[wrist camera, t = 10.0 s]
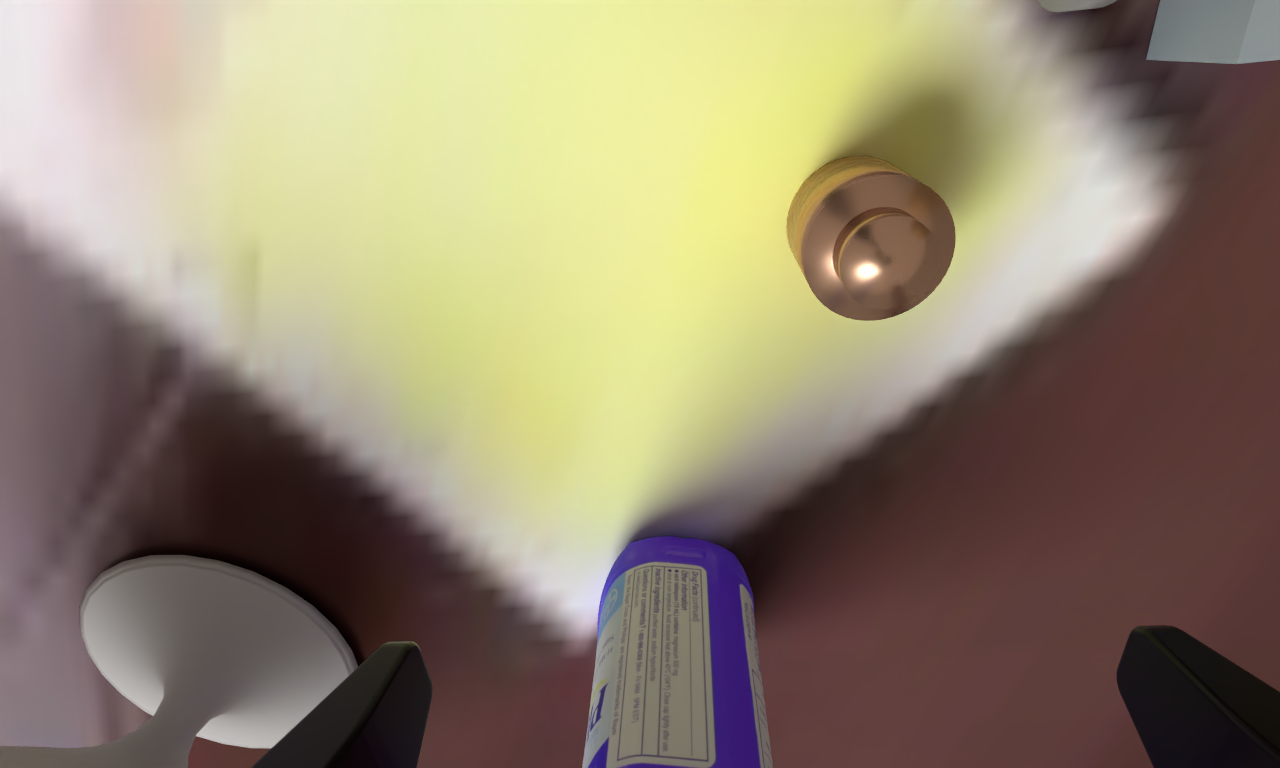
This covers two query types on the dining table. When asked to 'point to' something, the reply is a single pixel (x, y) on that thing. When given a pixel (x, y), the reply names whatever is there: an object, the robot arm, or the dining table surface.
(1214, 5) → the valve
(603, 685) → the bottle
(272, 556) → the dining table surface
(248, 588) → the chalice
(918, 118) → the dining table surface
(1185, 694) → the robot arm
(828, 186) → the cap
